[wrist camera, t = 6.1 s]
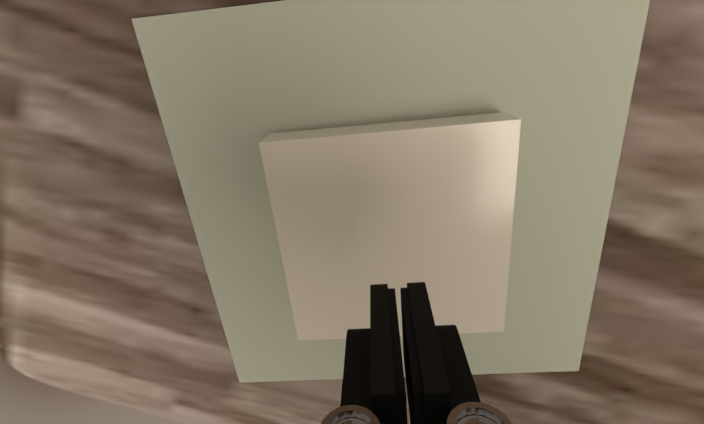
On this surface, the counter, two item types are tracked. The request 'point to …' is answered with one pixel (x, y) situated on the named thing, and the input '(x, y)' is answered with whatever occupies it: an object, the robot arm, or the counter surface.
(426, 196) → the tile
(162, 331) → the counter surface
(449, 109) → the mat
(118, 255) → the counter surface
